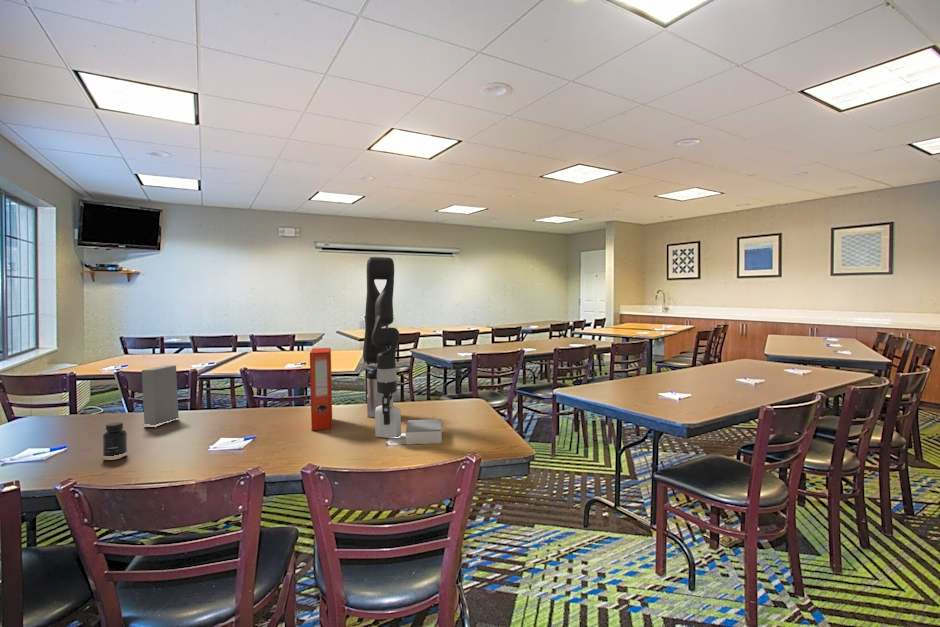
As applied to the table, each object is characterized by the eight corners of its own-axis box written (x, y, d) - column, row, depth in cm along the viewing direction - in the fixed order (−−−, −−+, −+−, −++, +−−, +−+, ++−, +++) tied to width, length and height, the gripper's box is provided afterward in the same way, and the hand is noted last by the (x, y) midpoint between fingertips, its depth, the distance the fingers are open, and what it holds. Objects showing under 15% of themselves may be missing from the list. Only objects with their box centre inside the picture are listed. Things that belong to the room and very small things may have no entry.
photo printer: (402, 436, 187) (402, 404, 186) (398, 439, 183) (397, 407, 182) (379, 434, 190) (378, 403, 189) (373, 437, 186) (372, 405, 185)
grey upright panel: (167, 419, 221) (164, 365, 220) (179, 420, 220) (176, 365, 219) (142, 428, 207) (139, 370, 206) (155, 428, 206) (152, 370, 205)
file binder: (333, 418, 215) (330, 347, 214) (332, 429, 199) (329, 351, 198) (314, 420, 213) (311, 348, 212) (311, 431, 197) (308, 352, 195)
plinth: (406, 444, 176) (405, 430, 176) (408, 432, 191) (408, 420, 191) (441, 442, 177) (441, 429, 177) (441, 431, 192) (441, 418, 192)
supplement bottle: (108, 462, 163) (106, 427, 163) (99, 459, 167) (97, 425, 167) (131, 456, 169) (129, 422, 169) (122, 453, 173) (120, 420, 172)
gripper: (379, 377, 192) (380, 417, 193) (374, 383, 178) (375, 426, 178) (398, 376, 193) (399, 416, 193) (395, 382, 178) (396, 426, 179)
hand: (388, 421), depth 186 cm, fingers open, 8 cm apart
